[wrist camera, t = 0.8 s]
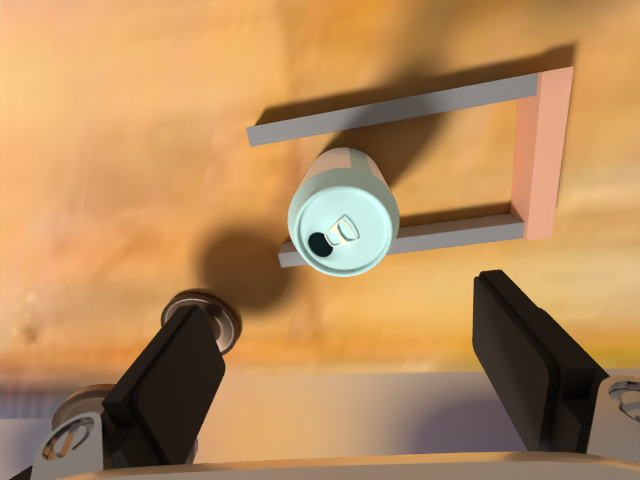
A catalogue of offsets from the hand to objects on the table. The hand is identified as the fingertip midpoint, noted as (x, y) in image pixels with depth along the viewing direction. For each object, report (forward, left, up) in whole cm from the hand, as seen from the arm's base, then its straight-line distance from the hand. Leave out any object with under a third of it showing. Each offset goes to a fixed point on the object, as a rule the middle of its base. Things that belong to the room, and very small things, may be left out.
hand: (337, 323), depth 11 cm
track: (-5, 0, -20) cm, 20 cm away
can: (0, 0, -20) cm, 20 cm away
